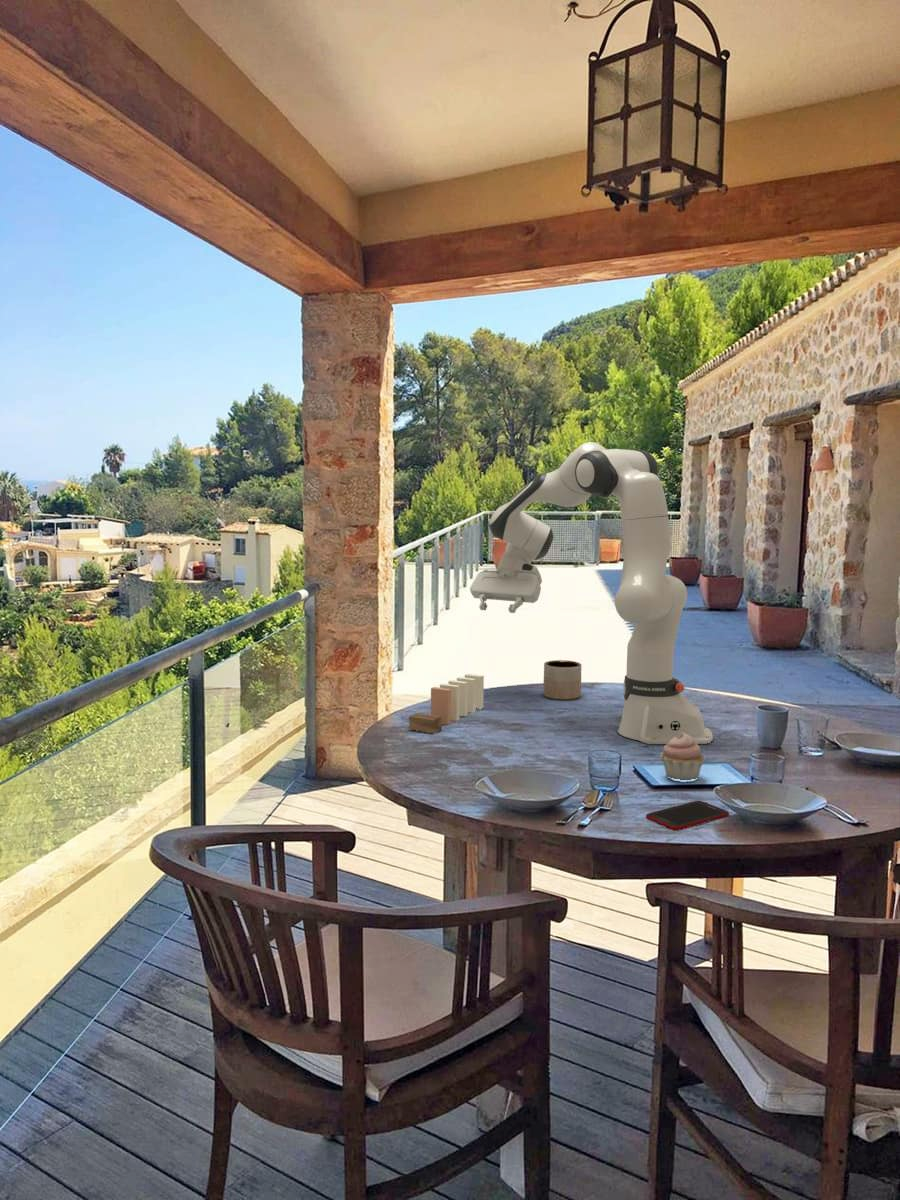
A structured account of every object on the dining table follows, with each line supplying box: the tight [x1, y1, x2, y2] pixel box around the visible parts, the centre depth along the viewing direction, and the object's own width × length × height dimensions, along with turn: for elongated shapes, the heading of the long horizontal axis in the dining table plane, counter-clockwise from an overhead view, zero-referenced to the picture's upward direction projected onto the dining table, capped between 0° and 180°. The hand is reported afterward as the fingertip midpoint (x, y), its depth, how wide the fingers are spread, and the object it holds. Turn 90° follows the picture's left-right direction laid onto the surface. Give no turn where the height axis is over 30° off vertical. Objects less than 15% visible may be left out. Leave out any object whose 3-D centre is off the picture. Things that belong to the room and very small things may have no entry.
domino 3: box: [447, 679, 469, 718], centre depth 237 cm, size 2×5×9 cm, turn 61°
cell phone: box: [645, 800, 730, 831], centre depth 166 cm, size 8×15×1 cm, turn 122°
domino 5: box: [464, 673, 485, 710], centre depth 245 cm, size 2×5×9 cm, turn 61°
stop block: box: [408, 712, 443, 735], centre depth 223 cm, size 4×7×4 cm, turn 61°
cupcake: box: [659, 732, 706, 780], centre depth 187 cm, size 9×9×10 cm
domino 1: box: [430, 686, 452, 726], centre depth 229 cm, size 2×5×9 cm, turn 61°
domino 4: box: [456, 676, 477, 714], centre depth 241 cm, size 2×5×9 cm, turn 61°
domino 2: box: [439, 683, 460, 722], centre depth 233 cm, size 2×5×9 cm, turn 61°
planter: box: [542, 659, 582, 701], centre depth 259 cm, size 11×11×10 cm
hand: (496, 610), depth 250 cm, fingers open, 8 cm apart
